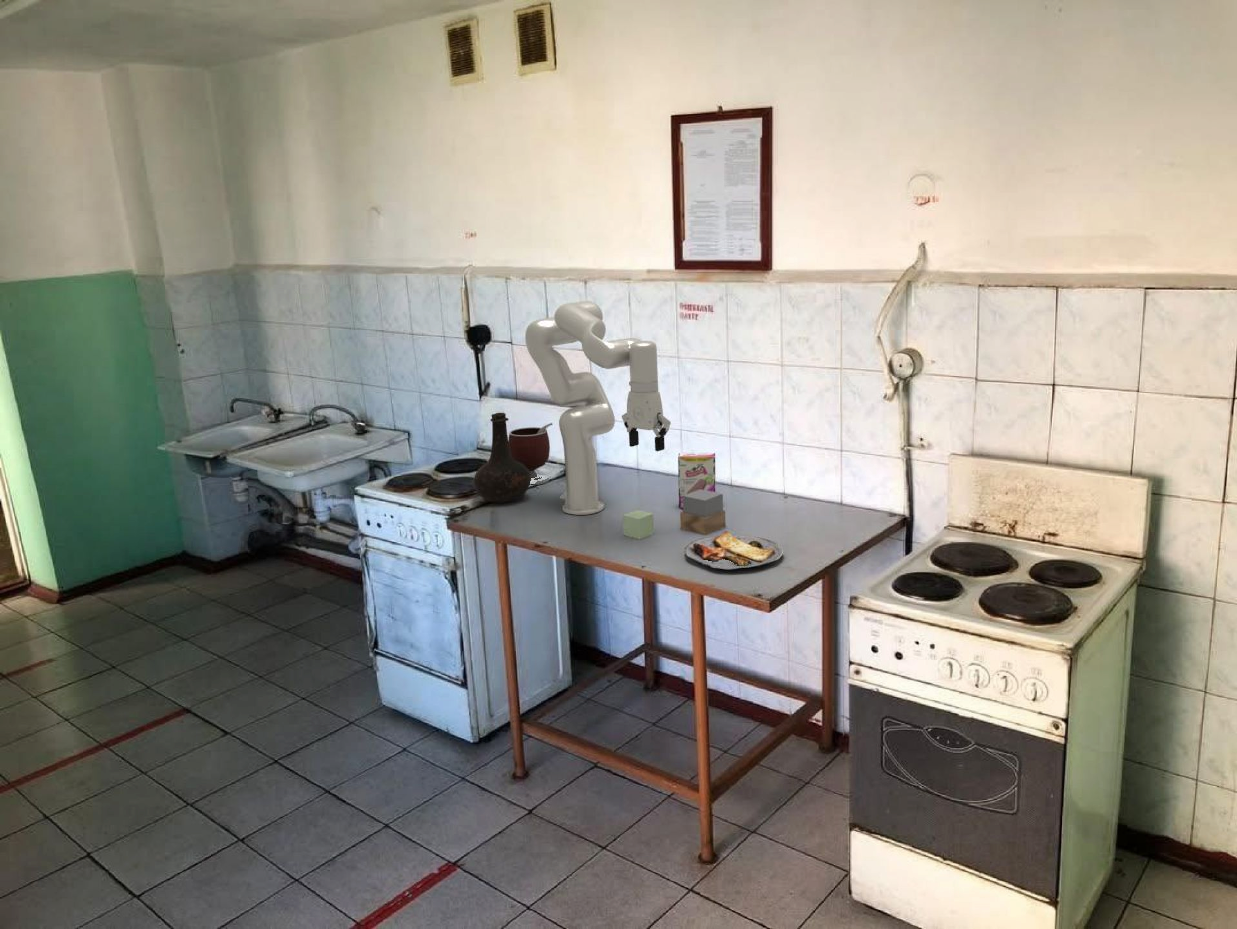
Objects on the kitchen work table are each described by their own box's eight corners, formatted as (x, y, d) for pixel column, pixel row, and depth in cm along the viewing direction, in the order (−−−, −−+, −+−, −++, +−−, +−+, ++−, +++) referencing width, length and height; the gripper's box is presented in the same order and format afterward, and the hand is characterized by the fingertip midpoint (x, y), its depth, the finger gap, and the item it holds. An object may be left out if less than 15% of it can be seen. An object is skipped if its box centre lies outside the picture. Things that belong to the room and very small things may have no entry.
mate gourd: (506, 485, 335) (501, 427, 330) (517, 474, 349) (512, 418, 344) (551, 486, 333) (547, 427, 328) (560, 474, 346) (556, 418, 341)
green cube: (623, 535, 280) (622, 515, 278) (638, 530, 284) (637, 509, 282) (639, 539, 276) (638, 519, 274) (653, 534, 280) (653, 513, 278)
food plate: (667, 554, 263) (667, 541, 262) (734, 535, 275) (734, 523, 275) (731, 583, 243) (731, 569, 242) (799, 561, 256) (800, 548, 255)
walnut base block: (680, 529, 283) (680, 512, 282) (700, 521, 289) (700, 505, 288) (705, 535, 277) (705, 518, 276) (725, 527, 283) (725, 510, 282)
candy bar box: (678, 509, 301) (677, 456, 297) (679, 504, 306) (677, 452, 302) (716, 508, 300) (715, 455, 296) (716, 503, 305) (715, 451, 300)
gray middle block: (683, 512, 282) (682, 495, 280) (700, 505, 287) (700, 489, 286) (705, 517, 276) (704, 500, 275) (723, 510, 282) (722, 493, 281)
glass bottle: (469, 507, 313) (461, 420, 306) (483, 491, 330) (476, 408, 323) (525, 507, 310) (519, 419, 303) (536, 491, 327) (531, 407, 320)
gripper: (612, 386, 275) (615, 446, 280) (658, 392, 263) (661, 455, 268) (630, 382, 280) (633, 441, 285) (677, 387, 268) (679, 449, 273)
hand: (646, 448), depth 276 cm, fingers open, 9 cm apart
